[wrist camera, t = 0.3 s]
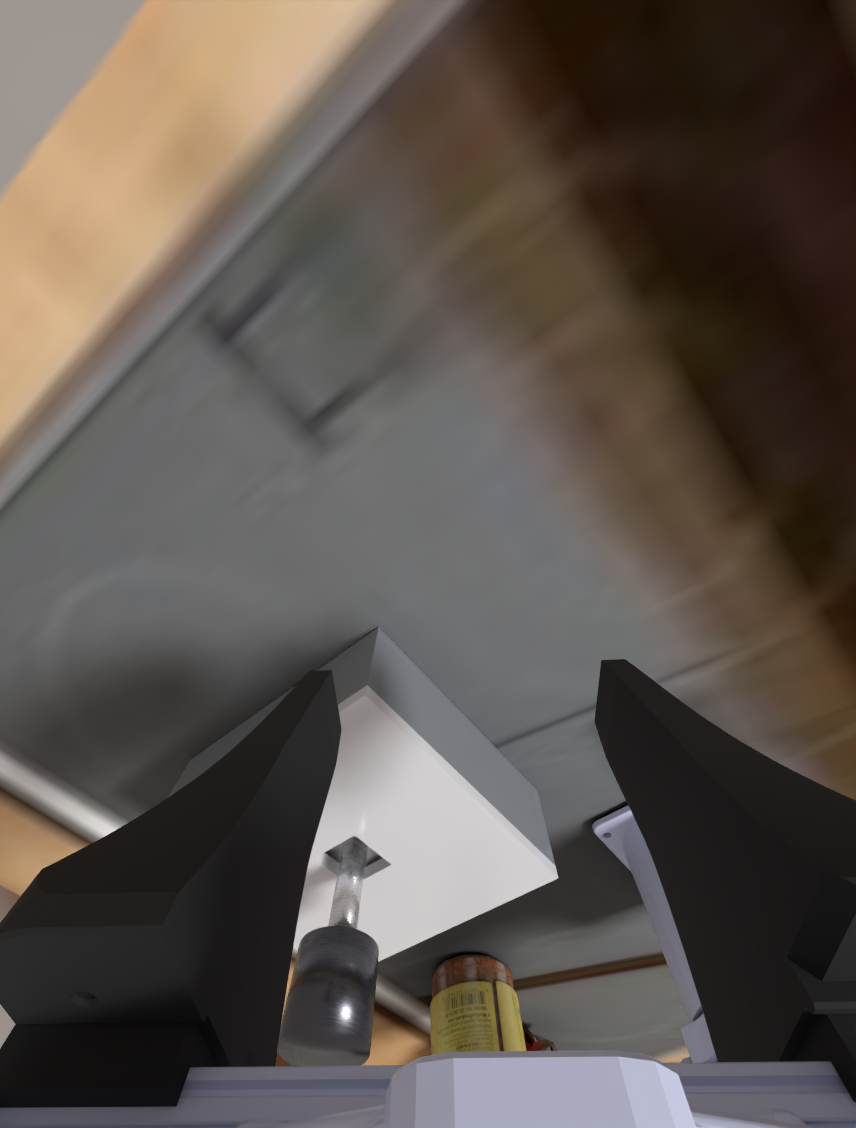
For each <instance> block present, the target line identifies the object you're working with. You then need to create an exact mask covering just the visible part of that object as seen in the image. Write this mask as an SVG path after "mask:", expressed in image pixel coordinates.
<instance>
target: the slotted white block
mask: <svg viewBox="0 0 856 1128" xmlns="http://www.w3.org/2000/svg"><path fill="white" fill-rule="evenodd" d="M322 670H332V673H333V679H334V685H335V691H336V697H337V704H338V710H339V716H340V722H341V728H342V730H341V737H340V744H339V750H338V756H337V762H336V767H335V771H334V774H333V778H332V781H331V785H330V788H329V792H328V795H327V799H326V802H325V806H324V809H323V813H322V816H321V819H320V823H319V826H318V830H317V833H316V837H315V840H314V844H313V847H312V851H311V855H310V859H309V863H308V868H307V873H306V878H305V884H304V889H303V894H302V899H301V905H300V910H299V916H298V921H297V927H296V933H295V939H294V944H293V945H295V946H296V947H298V948H299V944H300V941H301V939H302V938H303V937H304V936H305V935H306V934H307V933H309V932H310V931H312V930H315V929H318V928H321V927H326V926H328V925H329V919H330V914H331V908H332V902H333V897H334V891H335V886H336V880H337V875H338V869H339V863H338V862H337V861H335V860H334V859H333V858H331V857H330V856H329V855H327V854H326V853H325V852H326V851H328V850H330V849H332V848H333V847H335V846H337V845H339V844H340V843H342V842H344V841H346V840H347V839H349V838H351V837H353V836H356V837H357V838H359V839H360V840H361V841H362V842H364V843H365V844H366V845H367V846H369V847H370V848H371V849H372V850H374V851H375V852H376V853H377V854H379V855H380V856H381V857H382V858H381V859H380V860H378V861H376V862H374V863H372V864H370V865H368V866H367V867H365V870H364V878H363V886H362V893H361V901H360V909H359V916H358V924H357V930H360V931H362V932H364V933H366V934H368V935H369V936H370V937H372V938H373V939H374V940H375V942H376V943H377V945H378V948H379V956H378V962H379V961H381V960H383V959H385V958H387V957H390V956H392V955H394V954H396V953H398V952H400V951H403V950H405V949H407V948H409V947H411V946H413V945H415V944H418V943H420V942H422V941H424V940H426V939H428V938H431V937H433V936H435V935H437V934H439V933H441V932H444V931H446V930H448V929H450V928H452V927H454V926H457V925H459V924H461V923H463V922H465V921H467V920H470V919H472V918H474V917H476V916H478V915H480V914H482V913H485V912H487V911H489V910H491V909H493V908H495V907H498V906H500V905H502V904H504V903H506V902H508V901H511V900H513V899H515V898H517V897H519V896H521V895H524V894H526V893H528V892H530V891H532V890H534V889H537V888H539V887H541V886H543V885H545V884H547V883H549V882H552V881H554V880H556V879H558V874H557V870H556V866H555V862H554V858H553V854H552V850H551V845H550V841H549V837H548V833H547V829H546V825H545V821H544V817H543V813H542V809H541V804H540V800H539V796H538V792H537V790H536V789H535V788H534V787H533V786H532V785H531V784H530V783H529V782H528V781H527V780H526V778H525V777H524V776H523V775H522V774H521V773H520V772H519V771H518V770H517V769H516V768H515V767H514V766H513V765H512V764H511V763H510V762H509V761H508V760H507V759H506V758H505V757H504V756H503V755H502V754H501V753H500V752H499V751H498V750H497V749H496V748H495V747H494V745H493V744H492V743H491V742H490V741H489V740H488V739H487V738H486V737H485V736H484V735H483V734H482V733H481V732H480V731H479V730H478V729H477V728H476V727H475V726H474V725H473V724H472V723H471V722H470V721H469V720H468V719H467V718H466V717H465V716H464V715H463V714H462V712H461V711H460V710H459V709H458V708H457V707H456V706H455V705H454V704H453V703H452V702H451V701H450V700H449V699H448V698H447V697H446V696H445V695H444V694H443V693H442V692H441V691H440V690H439V689H438V688H437V687H436V686H435V685H434V684H433V683H432V682H431V681H430V679H429V678H428V677H427V676H426V675H425V674H424V673H423V672H422V671H421V670H420V669H419V668H418V667H417V666H416V665H415V664H414V663H413V662H412V661H411V660H410V659H409V658H408V657H407V656H406V655H405V654H404V653H403V652H402V651H401V650H400V649H399V648H398V646H397V645H396V644H395V643H394V642H393V641H392V640H391V639H390V638H389V637H388V636H387V635H386V634H385V633H384V632H383V631H382V630H381V629H380V628H379V627H378V628H376V629H375V630H374V631H372V632H371V633H369V634H368V635H367V636H365V637H364V638H362V639H361V640H359V641H358V642H357V643H355V644H354V645H352V646H351V647H349V648H348V649H347V650H345V651H344V652H342V653H341V654H340V655H338V656H337V657H335V658H334V659H332V660H331V661H330V662H328V663H327V664H325V665H324V666H323V667H321V668H320V669H318V670H317V671H322ZM294 687H295V686H294ZM294 687H293V688H294ZM293 688H291V689H290V690H288V691H287V692H286V693H284V694H283V695H281V696H280V697H279V698H277V699H276V700H274V701H273V702H271V703H270V704H269V705H267V706H266V707H264V708H263V709H261V710H260V711H259V712H257V713H256V714H254V715H253V716H252V717H250V718H249V719H247V720H246V721H244V722H243V723H242V724H240V725H239V726H237V727H236V728H235V729H233V730H232V731H230V732H229V733H227V734H226V735H225V736H223V737H222V738H220V739H219V740H218V741H216V742H215V743H213V744H212V745H210V746H209V747H208V748H206V749H205V750H203V751H202V752H200V753H199V754H198V755H196V756H195V757H193V758H192V759H191V760H190V761H189V763H188V764H187V766H186V768H185V769H184V771H183V773H182V774H181V776H180V778H179V779H178V781H177V783H176V784H175V786H174V788H173V789H172V791H171V793H170V794H169V796H168V797H170V796H171V795H173V794H174V793H176V792H177V791H178V790H180V789H181V788H183V787H184V786H186V785H187V784H188V783H190V782H191V781H193V780H194V779H196V778H197V777H198V776H200V775H201V774H202V773H203V772H205V771H206V770H207V769H209V768H210V767H211V766H212V765H214V764H215V763H216V762H217V761H219V760H220V759H221V758H222V757H223V756H225V755H226V754H227V753H228V752H229V751H231V750H232V749H233V748H234V747H235V746H236V745H237V744H238V743H239V742H241V741H242V740H243V739H244V738H245V737H246V736H247V735H248V734H249V733H250V732H251V731H252V730H253V729H254V728H255V727H257V726H258V725H259V724H260V723H261V722H262V721H263V720H264V719H265V718H266V717H267V716H268V715H269V713H270V712H271V711H272V710H273V709H274V708H275V707H276V706H277V705H278V704H279V703H280V702H281V701H282V700H283V699H284V698H285V697H286V696H287V695H288V694H289V692H290V691H291V690H292V689H293Z"/></svg>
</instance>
